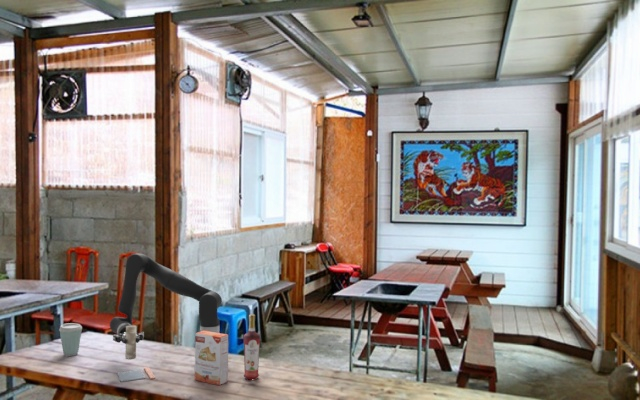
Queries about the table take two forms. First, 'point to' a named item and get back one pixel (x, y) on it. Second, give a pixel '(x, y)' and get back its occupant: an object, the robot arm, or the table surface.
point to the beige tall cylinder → (131, 342)
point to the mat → (130, 375)
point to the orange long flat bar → (149, 373)
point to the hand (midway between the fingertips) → (131, 341)
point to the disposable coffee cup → (70, 338)
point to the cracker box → (211, 357)
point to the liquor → (251, 350)
